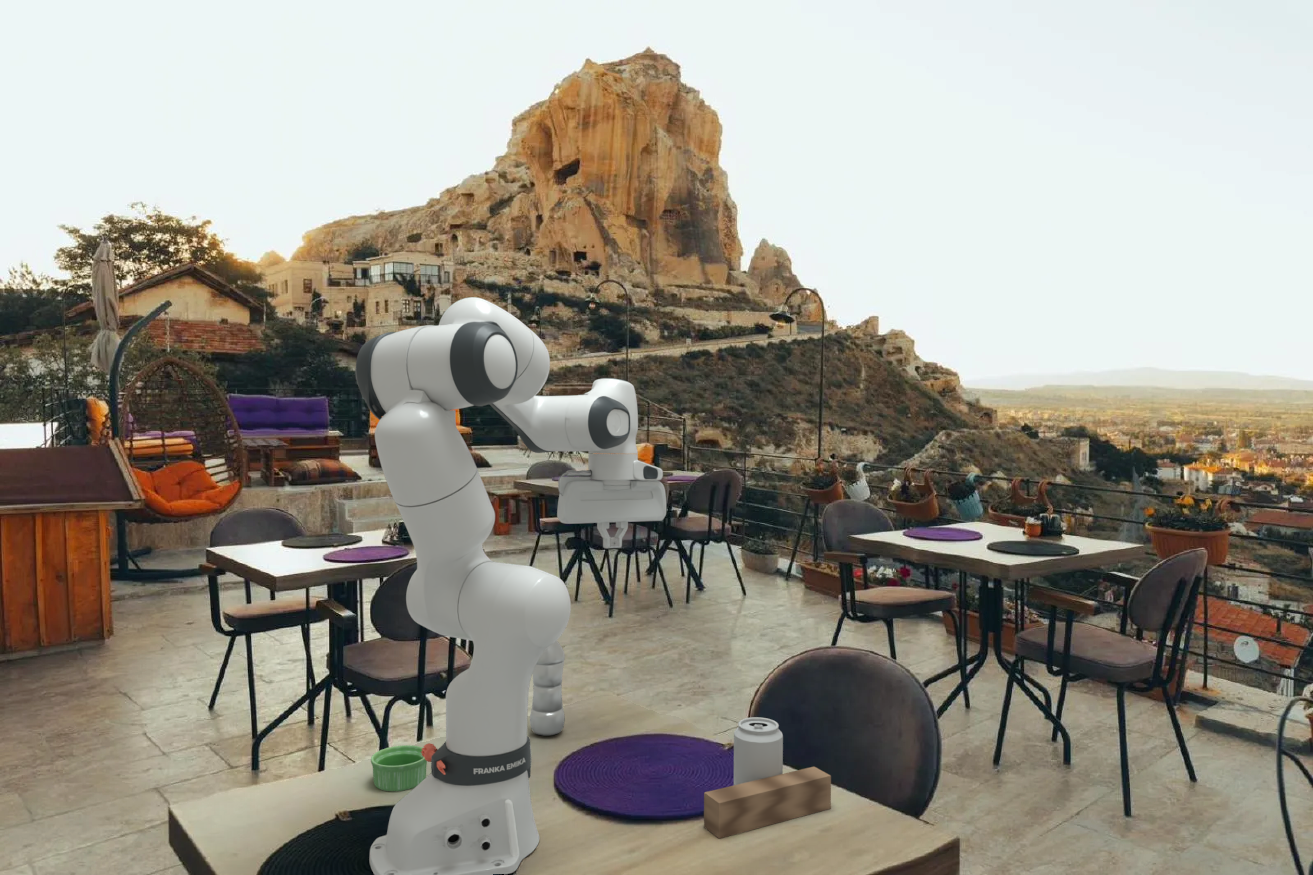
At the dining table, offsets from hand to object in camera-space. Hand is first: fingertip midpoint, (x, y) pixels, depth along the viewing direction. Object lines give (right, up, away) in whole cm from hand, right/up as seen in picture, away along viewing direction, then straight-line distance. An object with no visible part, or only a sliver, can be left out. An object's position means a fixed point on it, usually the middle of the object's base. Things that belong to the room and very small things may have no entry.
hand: (612, 547), depth 155 cm
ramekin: (-34, -36, -14) cm, 52 cm away
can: (+24, -37, -21) cm, 48 cm away
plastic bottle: (-13, -36, +8) cm, 39 cm away
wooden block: (+24, -36, -27) cm, 51 cm away
